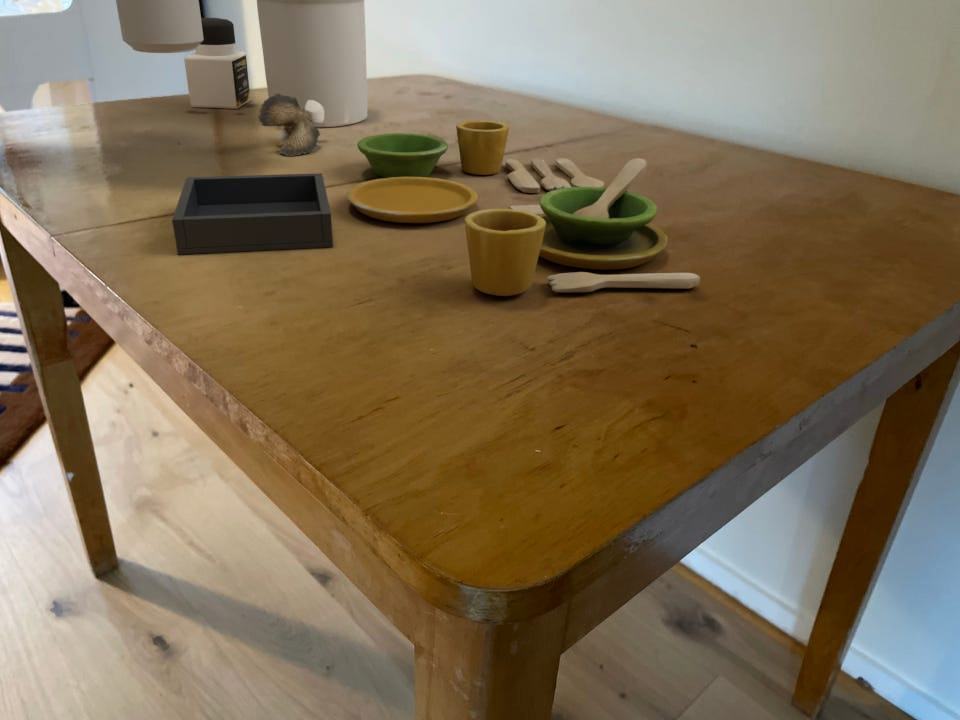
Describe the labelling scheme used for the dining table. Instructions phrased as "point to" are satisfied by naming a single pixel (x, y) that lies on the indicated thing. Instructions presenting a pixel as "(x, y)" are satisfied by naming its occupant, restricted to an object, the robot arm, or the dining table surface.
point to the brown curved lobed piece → (293, 122)
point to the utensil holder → (317, 55)
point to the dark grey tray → (252, 213)
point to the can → (160, 25)
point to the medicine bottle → (217, 68)
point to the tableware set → (519, 213)
